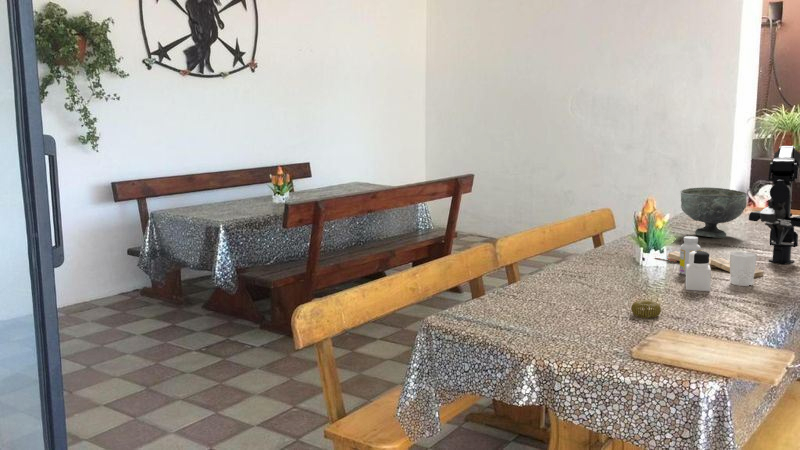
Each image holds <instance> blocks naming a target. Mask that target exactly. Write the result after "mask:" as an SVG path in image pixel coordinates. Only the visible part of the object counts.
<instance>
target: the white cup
mask: <svg viewBox="0 0 800 450" xmlns="http://www.w3.org/2000/svg"><path fill="white" fill-rule="evenodd" d="M757 256H758V255H757V253H754V252H750V251H732V252H730V253H729V262H730V272H729V275H730V277H729V279H730V280H729V281H730V284H732V285H734V286H738V287H739V286H740V287H750V286H749V285H751V286H753V285H754V280H755V279H754V278H755V277H754V274H755V268H756V266H757V265H756V264H757Z"/></svg>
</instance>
